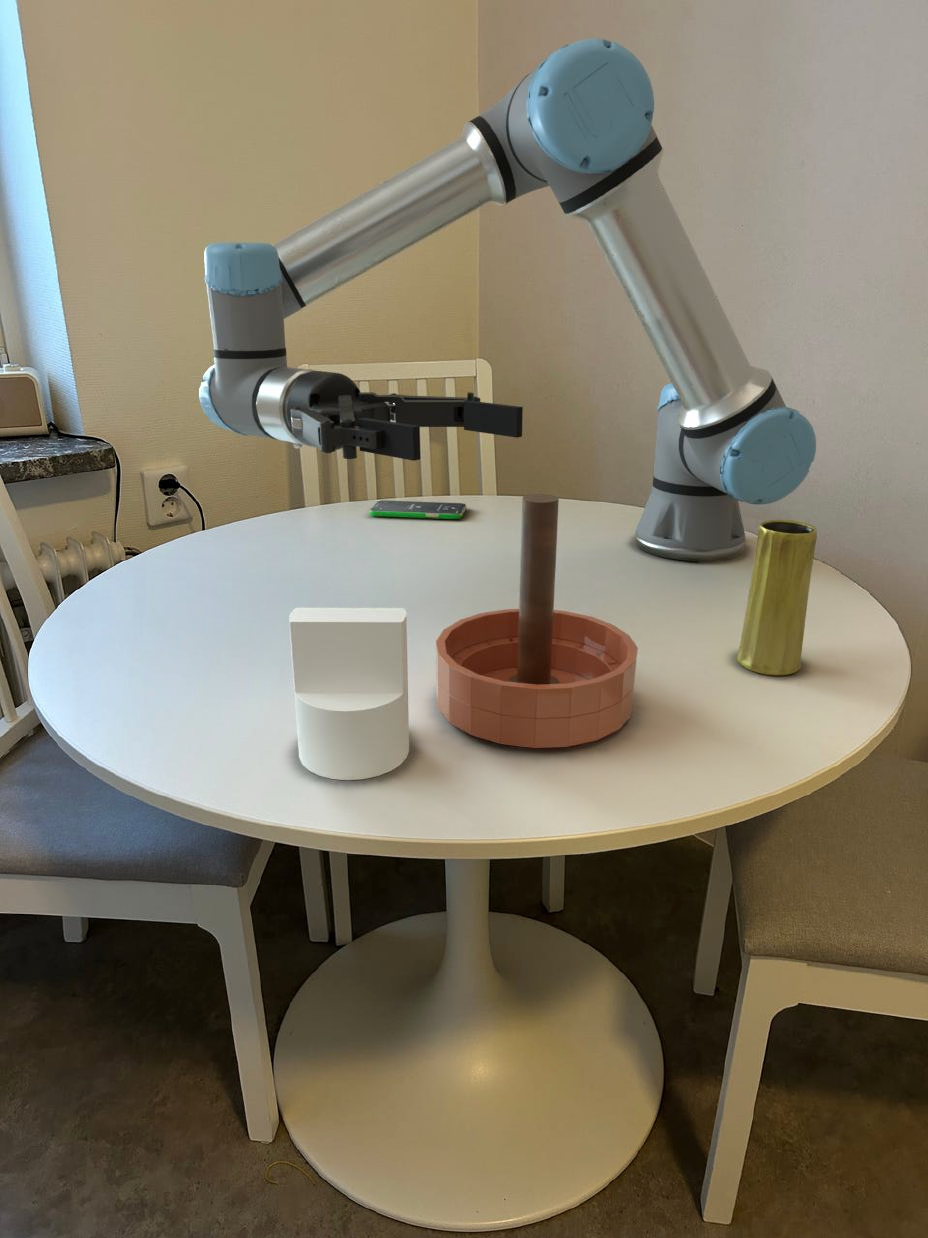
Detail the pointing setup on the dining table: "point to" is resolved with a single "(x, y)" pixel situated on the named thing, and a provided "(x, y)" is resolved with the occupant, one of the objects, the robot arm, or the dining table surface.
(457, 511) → the smartphone
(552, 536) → the brown peg
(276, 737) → the dining table surface
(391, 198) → the robot arm
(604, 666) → the bowl
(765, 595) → the vase
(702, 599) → the dining table surface
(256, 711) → the dining table surface
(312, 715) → the base with upright slab
